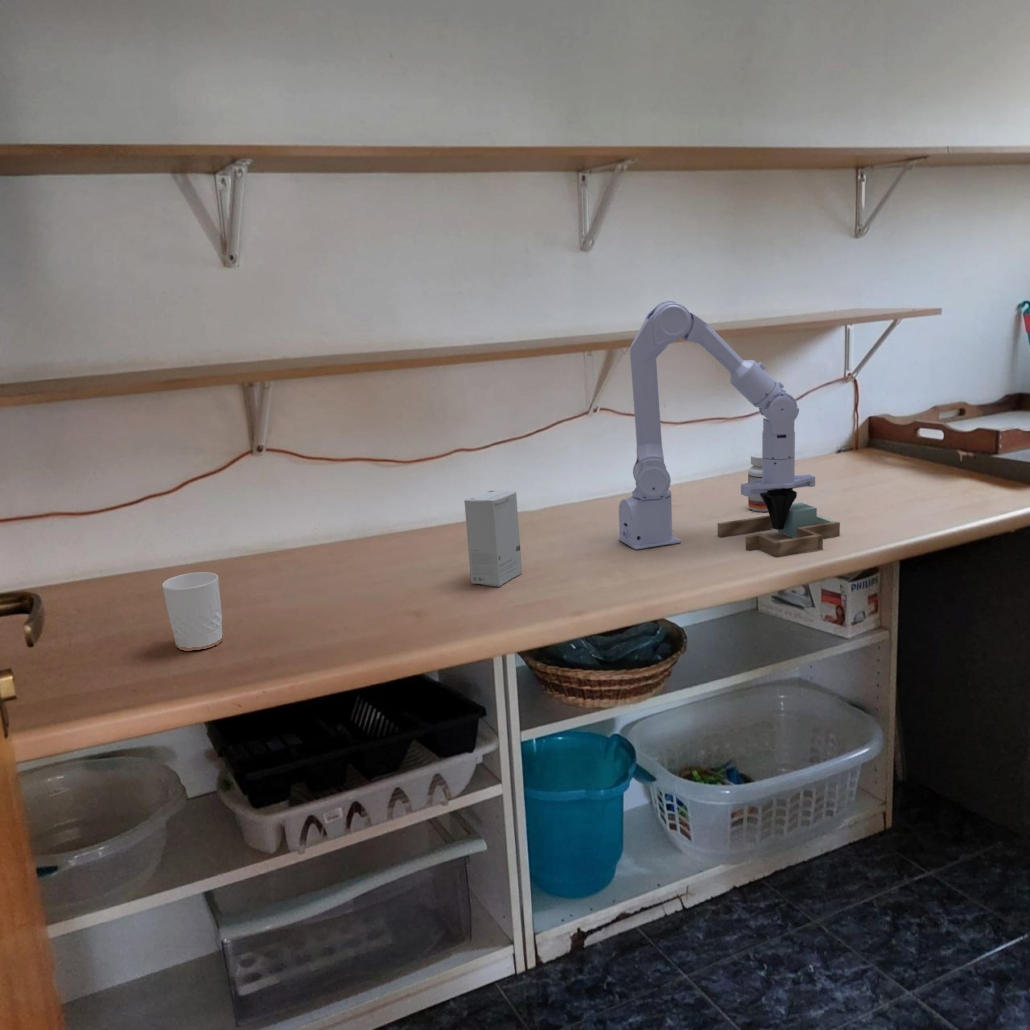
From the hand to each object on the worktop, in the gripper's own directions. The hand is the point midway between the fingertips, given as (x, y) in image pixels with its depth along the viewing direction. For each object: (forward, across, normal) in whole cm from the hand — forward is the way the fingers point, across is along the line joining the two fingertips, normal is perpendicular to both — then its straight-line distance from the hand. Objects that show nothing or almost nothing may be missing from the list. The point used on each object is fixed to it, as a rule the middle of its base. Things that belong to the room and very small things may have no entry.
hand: (778, 528), depth 180 cm
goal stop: (+1, +9, 0) cm, 9 cm away
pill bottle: (+2, +8, +18) cm, 20 cm away
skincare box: (+2, -54, +2) cm, 55 cm away
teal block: (+1, +4, 0) cm, 4 cm away
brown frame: (+1, 0, -3) cm, 3 cm away
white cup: (+2, -104, -7) cm, 104 cm away
